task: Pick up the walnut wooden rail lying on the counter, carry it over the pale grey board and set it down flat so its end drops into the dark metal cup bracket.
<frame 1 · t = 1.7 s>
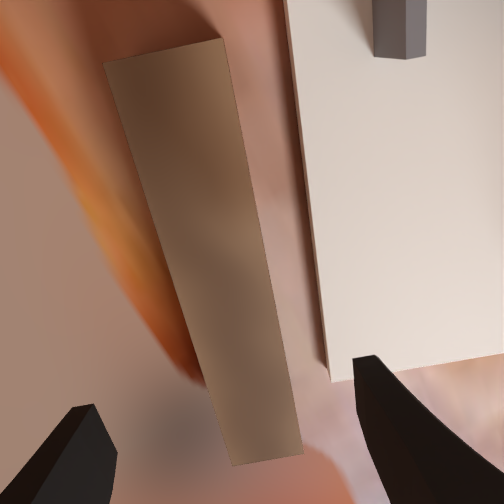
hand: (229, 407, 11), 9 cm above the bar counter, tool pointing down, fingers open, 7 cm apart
cup bracket: (441, 155, 18), on the bar counter
rail: (228, 254, 20), on the bar counter
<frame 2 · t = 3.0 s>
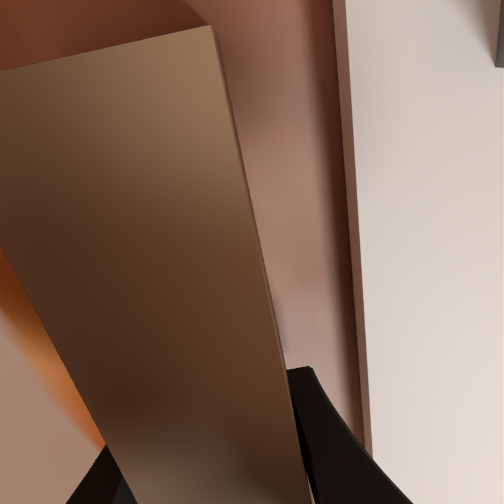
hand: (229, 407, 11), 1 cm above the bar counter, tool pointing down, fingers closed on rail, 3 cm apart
rail: (228, 366, 13), on the bar counter, touching gripper
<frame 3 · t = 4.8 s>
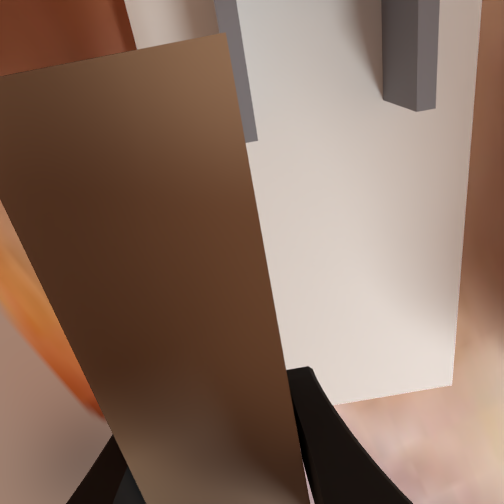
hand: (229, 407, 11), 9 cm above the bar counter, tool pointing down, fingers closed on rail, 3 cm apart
cup bracket: (321, 212, 18), on the bar counter
rail: (227, 362, 13), point 7 cm above the bar counter, touching gripper
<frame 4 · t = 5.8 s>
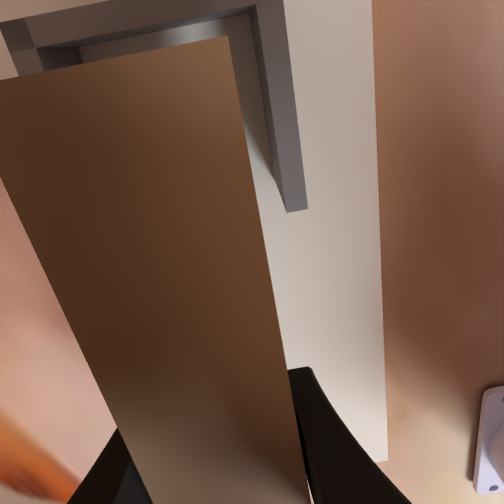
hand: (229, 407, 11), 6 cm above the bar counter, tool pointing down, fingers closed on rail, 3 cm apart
cup bracket: (228, 289, 17), on the bar counter
rail: (228, 358, 13), point 4 cm above the bar counter, touching gripper
when the fingers open (4 cm above the bar counter, at t = 6.7 s): rail stays where it is, resting on cup bracket.
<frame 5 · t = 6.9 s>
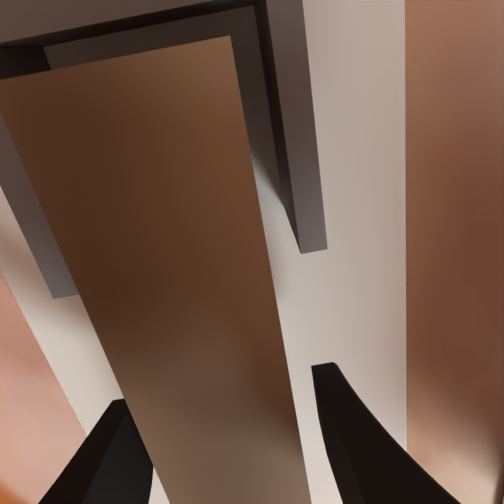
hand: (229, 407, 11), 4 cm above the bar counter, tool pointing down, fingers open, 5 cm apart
cup bracket: (228, 325, 15), on the bar counter
rail: (229, 345, 14), point 1 cm above the bar counter, touching cup bracket
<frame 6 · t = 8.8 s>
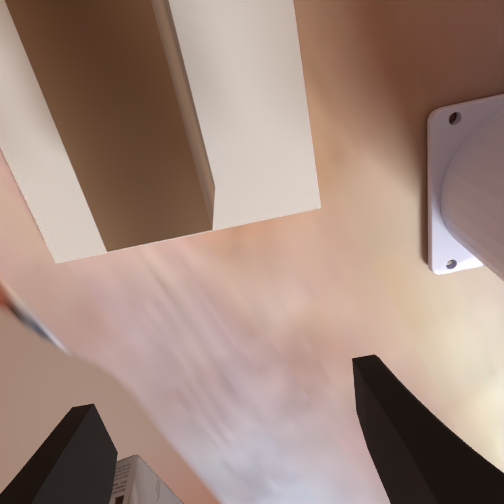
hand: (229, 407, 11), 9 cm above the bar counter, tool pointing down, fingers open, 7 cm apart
coffee box: (134, 502, 28), on the bar counter
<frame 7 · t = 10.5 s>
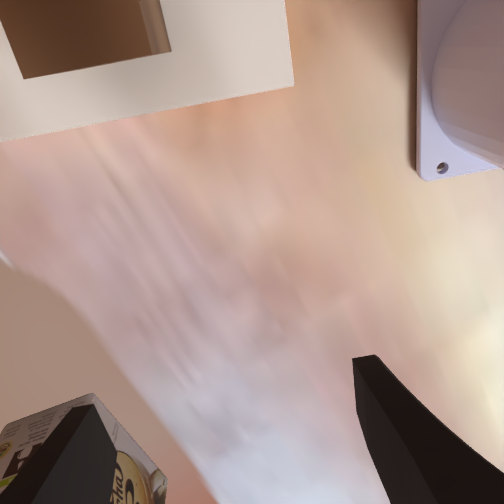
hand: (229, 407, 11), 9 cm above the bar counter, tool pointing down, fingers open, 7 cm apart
coffee box: (92, 451, 26), on the bar counter
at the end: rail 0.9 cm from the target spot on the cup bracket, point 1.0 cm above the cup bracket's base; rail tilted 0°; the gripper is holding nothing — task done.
